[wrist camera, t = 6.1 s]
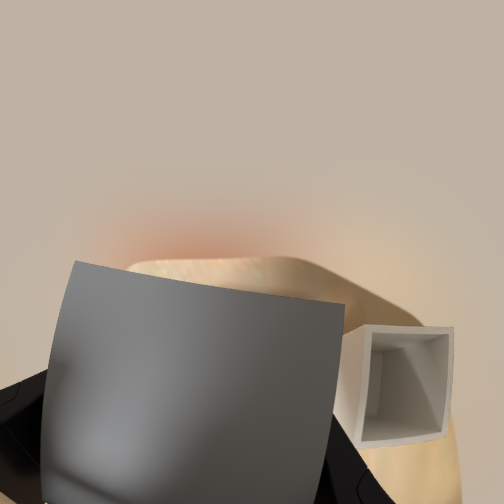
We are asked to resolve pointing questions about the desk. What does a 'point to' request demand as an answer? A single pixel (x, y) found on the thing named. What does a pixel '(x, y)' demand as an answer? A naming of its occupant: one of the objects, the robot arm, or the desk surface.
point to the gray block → (186, 393)
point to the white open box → (394, 384)
